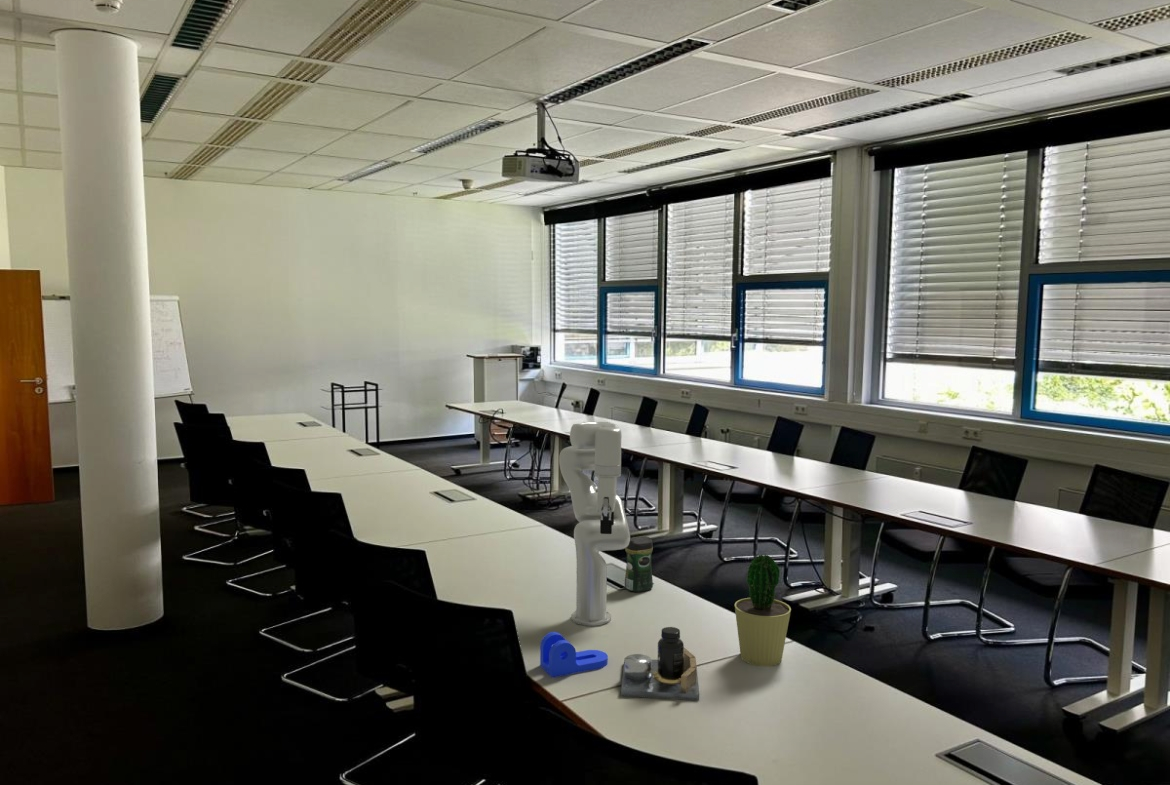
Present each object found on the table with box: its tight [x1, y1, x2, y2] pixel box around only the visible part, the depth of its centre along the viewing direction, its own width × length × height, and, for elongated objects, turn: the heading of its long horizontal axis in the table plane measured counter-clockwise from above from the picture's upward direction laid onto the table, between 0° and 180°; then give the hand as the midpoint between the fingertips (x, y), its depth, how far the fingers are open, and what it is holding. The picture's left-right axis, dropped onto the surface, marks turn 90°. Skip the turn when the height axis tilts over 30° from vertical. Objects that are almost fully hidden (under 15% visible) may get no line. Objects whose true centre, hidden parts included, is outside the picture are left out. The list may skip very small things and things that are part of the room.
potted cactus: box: [734, 554, 792, 667], centre depth 226 cm, size 15×15×30 cm
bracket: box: [539, 631, 609, 678], centre depth 221 cm, size 18×8×9 cm, turn 115°
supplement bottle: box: [657, 626, 685, 679], centre depth 212 cm, size 7×7×12 cm
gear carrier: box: [620, 647, 700, 701], centre depth 212 cm, size 20×20×6 cm
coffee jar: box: [624, 535, 654, 593], centre depth 284 cm, size 10×8×19 cm
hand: (607, 529), depth 232 cm, fingers open, 9 cm apart
